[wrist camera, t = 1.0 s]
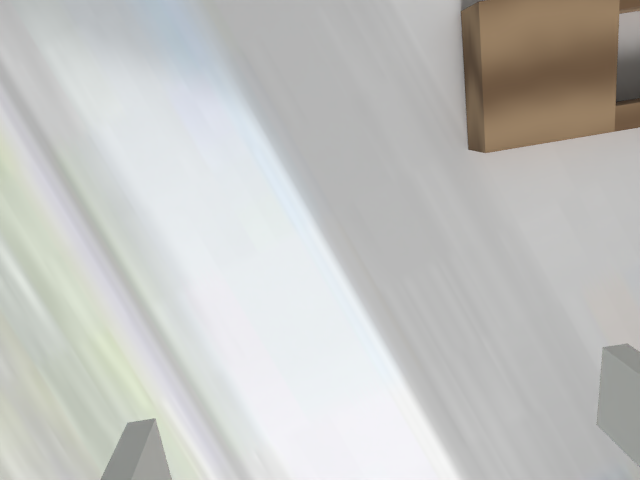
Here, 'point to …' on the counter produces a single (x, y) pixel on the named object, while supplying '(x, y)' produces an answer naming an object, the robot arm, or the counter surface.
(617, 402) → the robot arm
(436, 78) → the counter surface
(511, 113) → the brown flat tray
